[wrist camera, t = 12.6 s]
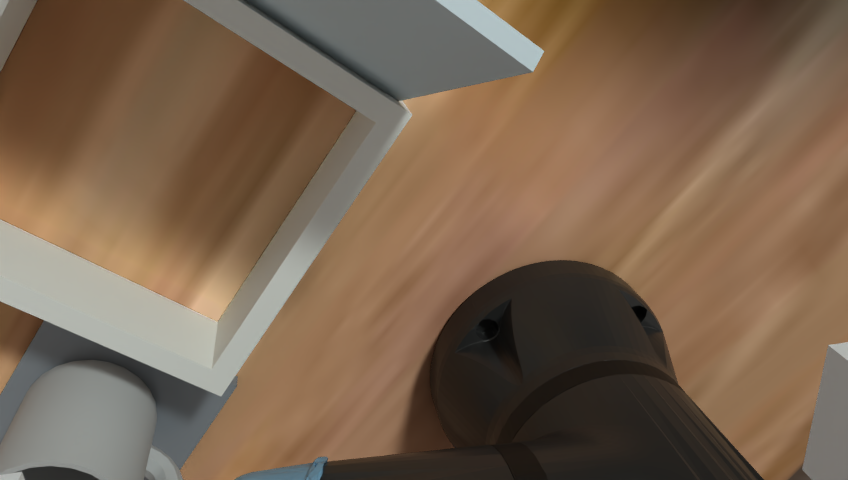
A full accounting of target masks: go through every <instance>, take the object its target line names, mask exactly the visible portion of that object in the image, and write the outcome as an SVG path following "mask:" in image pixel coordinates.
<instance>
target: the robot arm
mask: <svg viewBox="0 0 848 480" xmlns="http://www.w3.org/2000/svg"><path fill="white" fill-rule="evenodd" d="M430 387H431V394H432V398H433V402H434V405H435V408H436V411H437V414H438V417H439V420H440V423H441V425H442V427H443V430H444V432H445V433H446V435H447V437H448V438H449V440H450V441H451V443H452V444H453V446H454V447H455V448H451V449H442V450H432V451H423V452H414V453H404V454H395V455H386V456H376V457H367V458H358V459H348V460H339V461H330V462H327V460H328V458H327V457H318V458H317V459H315V461H314V462H313V463H308V464H301V465H295V466H289V467H282V468H276V469H270V470H263V471H257V472H251V473H248V474H244V475H242V476H240V477H238V478H236V479H234V480H764V479H763V478H762V477H761V476H760V475H759V474H758V473H757V471H756V470H755V469H754V468H753V467H752V466H751V465H750V464H749V463H748V461H747V460H746V459H745V458H744V457H743V456H742V455H741V454H740V453H739V452H738V450H737V449H736V448H735V447H734V446H733V445H732V444H731V443H730V442H729V440H728V439H727V438H726V437H725V436H724V435H723V434H722V433H721V432H720V430H719V429H718V428H717V427H716V426H715V425H714V424H713V423H712V422H711V420H710V419H709V418H708V417H707V416H706V415H705V414H704V413H703V412H702V410H701V409H700V408H699V407H698V406H697V405H696V404H695V403H694V402H693V400H692V399H691V398H690V397H689V396H688V395H687V394H686V393H685V392H684V391H683V389H682V388H681V387H680V386H679V385H678V382H677V378H676V375H675V372H674V368H673V365H672V361H671V358H670V354H669V351H668V347H667V344H666V341H665V337H664V334H663V331H662V328H661V326H660V324H659V322H658V320H657V318H656V316H655V315H654V313H653V312H652V310H651V309H650V307H649V306H648V305H647V304H646V303H645V301H644V300H643V299H642V298H641V297H640V296H639V295H638V294H637V293H636V292H635V291H634V290H633V289H632V288H631V287H630V286H629V285H628V284H627V283H626V282H625V281H623V280H622V279H621V278H619V277H618V276H616V275H615V274H613V273H611V272H610V271H608V270H605V269H603V268H601V267H598V266H595V265H592V264H588V263H583V262H578V261H564V260H558V261H546V262H539V263H534V264H530V265H526V266H523V267H520V268H517V269H514V270H512V271H509V272H507V273H505V274H503V275H501V276H499V277H497V278H495V279H493V280H492V281H490V282H489V283H487V284H486V285H484V286H483V287H481V288H480V289H479V290H477V291H476V292H475V293H474V294H472V295H471V296H470V297H469V298H468V299H467V300H466V301H465V302H464V303H463V304H462V305H461V306H460V307H459V308H458V309H457V311H456V312H455V313H454V314H453V316H452V317H451V318H450V320H449V321H448V323H447V324H446V326H445V328H444V329H443V331H442V333H441V335H440V337H439V339H438V342H437V344H436V347H435V350H434V353H433V357H432V362H431V369H430ZM802 470H803V471H804V472H805V473H806V474H807V475H808V476H809V477H810V478H811V479H812V480H848V342H846V343H840V344H833V345H828V349H827V354H826V359H825V364H824V368H823V373H822V378H821V383H820V388H819V392H818V397H817V402H816V407H815V411H814V416H813V421H812V426H811V431H810V435H809V440H808V445H807V450H806V454H805V459H804V464H803V469H802ZM0 480H25V479H24V476H23V473H22V472H17V473H10V474H4V475H0Z"/></svg>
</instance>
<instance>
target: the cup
mask: <svg viewBox="0 0 848 480" xmlns="http://www.w3.org/2000/svg"><path fill="white" fill-rule="evenodd" d="M156 421H157V410H156V402H155V400H154V398H153V395H152V393H151V391H150V389H149V388H148V387H147V386H146V385H145V383H144V382H143V381H142V380H141V379H140V378H139V377H138V376H136V375H135V374H133V373H132V372H130V371H129V370H127V369H126V368H124V367H121V366H118V365H116V364H113V363H110V362H105V361H98V360H82V361H72V362H69V363H65V364H62V365H58V366H56V367H54V368H52V369H51V370H49V371H47V372H45V373H44V374H42V375H41V376H40V377H39V378H38V379H37V380H36V381H35V382H34V383H33V384H32V385H31V387H30V388H29V390H28V391H27V393H26V395H25V397H24V399H23V401H22V403H21V405H20V407H19V409H18V411H17V413H16V414H15V416H14V418H13V420H12V422H11V424H10V426H9V428H8V430H7V432H6V434H5V436H4V438H3V440H2V442H1V444H0V475H4V474H10V473H17V472H22V473H23V476H24V479H25V480H144V476H145V477H146V478H148V479H149V480H183V478H182V475H181V473H180V470H179V468H178V467H177V465H176V464H175V463H174V461H173V460H172V459H171V458H170V457H169V456H168V455H167V454H165V453H164V452H163V451H161V450H160V449H158V448H156V447H154V446H153V445H152V440H153V436H154V431H155V427H156Z"/></svg>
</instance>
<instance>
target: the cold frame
mask: <svg viewBox="0 0 848 480" xmlns="http://www.w3.org/2000/svg"><path fill="white" fill-rule="evenodd" d="M184 1H185V2H187V3H188V4H190V5H192V6H193V7H195V8H196V9H198V10H199V11H201V12H203V13H204V14H206V15H207V16H209V17H210V18H212V19H214V20H215V21H217V22H218V23H220V24H221V25H223V26H225V27H226V28H228V29H229V30H231V31H232V32H234V33H236V34H237V35H239V36H240V37H242V38H243V39H245V40H247V41H248V42H250V43H251V44H253V45H254V46H256V47H258V48H259V49H261V50H262V51H264V52H265V53H267V54H269V55H270V56H272V57H273V58H275V59H276V60H278V61H280V62H281V63H283V64H284V65H286V66H287V67H289V68H291V69H292V70H294V71H295V72H297V73H298V74H300V75H302V76H303V77H305V78H306V79H308V80H309V81H311V82H313V83H314V84H316V85H317V86H319V87H320V88H322V89H324V90H325V91H327V92H328V93H330V94H332V95H333V96H335V97H336V98H338V99H339V100H341V101H343V102H344V103H346V104H347V105H349V106H350V107H352V108H354V109H355V110H357V111H356V112H355V114H354V115H353V117H352V118H351V120H350V121H349V123H348V124H347V126H346V128H345V129H344V131H343V132H342V134H341V135H340V137H339V138H338V140H337V141H336V143H335V144H334V146H333V147H332V149H331V150H330V152H329V153H328V155H327V156H326V158H325V159H324V161H323V163H322V164H321V166H320V167H319V169H318V170H317V172H316V173H315V175H314V176H313V178H312V179H311V181H310V182H309V184H308V185H307V187H306V188H305V190H304V191H303V193H302V195H301V196H300V198H299V199H298V201H297V202H296V204H295V205H294V207H293V208H292V210H291V211H290V213H289V214H288V216H287V217H286V219H285V220H284V222H283V223H282V225H281V226H280V228H279V230H278V231H277V233H276V234H275V236H274V237H273V239H272V240H271V242H270V243H269V245H268V246H267V248H266V249H265V251H264V252H263V254H262V255H261V257H260V258H259V260H258V262H257V263H256V265H255V266H254V268H253V269H252V271H251V272H250V274H249V275H248V277H247V278H246V280H245V281H244V283H243V284H242V286H241V287H240V289H239V290H238V292H237V293H236V295H235V297H234V298H233V300H232V301H231V303H230V304H229V306H228V307H227V309H226V310H225V312H224V313H223V315H222V316H221V318H220V319H219V321H218V322H217V321H215V320H213V319H210V318H208V317H206V316H204V315H202V314H200V313H198V312H196V311H193V310H191V309H189V308H187V307H185V306H183V305H181V304H179V303H177V302H174V301H172V300H170V299H168V298H166V297H164V296H162V295H160V294H157V293H155V292H153V291H151V290H149V289H147V288H145V287H143V286H140V285H138V284H136V283H134V282H132V281H130V280H128V279H126V278H124V277H121V276H119V275H117V274H115V273H113V272H111V271H109V270H107V269H104V268H102V267H100V266H98V265H96V264H94V263H92V262H90V261H87V260H85V259H83V258H81V257H79V256H77V255H75V254H73V253H71V252H68V251H66V250H64V249H62V248H60V247H58V246H56V245H54V244H51V243H49V242H47V241H45V240H43V239H41V238H39V237H37V236H34V235H32V234H30V233H28V232H26V231H24V230H22V229H20V228H18V227H15V226H13V225H11V224H9V223H7V222H5V221H3V220H1V219H0V301H1V302H3V303H5V304H8V305H10V306H12V307H15V308H17V309H19V310H22V311H24V312H26V313H29V314H31V315H33V316H35V317H38V318H40V319H42V320H45V321H47V322H49V323H52V324H54V325H56V326H59V327H61V328H63V329H66V330H68V331H70V332H73V333H75V334H77V335H79V336H82V337H84V338H86V339H89V340H91V341H93V342H96V343H98V344H100V345H103V346H105V347H107V348H110V349H112V350H114V351H117V352H119V353H121V354H124V355H126V356H128V357H130V358H133V359H135V360H137V361H140V362H142V363H144V364H147V365H149V366H151V367H154V368H156V369H158V370H161V371H163V372H165V373H168V374H170V375H172V376H174V377H177V378H179V379H181V380H184V381H186V382H188V383H191V384H193V385H195V386H198V387H200V388H202V389H205V390H207V391H209V392H212V393H214V394H216V395H218V396H222V395H223V393H224V392H225V390H226V389H227V387H228V386H229V384H230V383H231V381H232V380H233V378H234V377H235V376H236V374H237V373H238V371H239V370H240V368H241V367H242V365H243V364H244V362H245V361H246V359H247V358H248V356H249V355H250V353H251V352H252V350H253V349H254V348H255V346H256V345H257V343H258V342H259V340H260V339H261V337H262V336H263V334H264V333H265V331H266V330H267V328H268V327H269V325H270V324H271V322H272V321H273V320H274V318H275V317H276V315H277V314H278V312H279V311H280V309H281V308H282V306H283V305H284V303H285V302H286V300H287V299H288V297H289V296H290V294H291V293H292V292H293V290H294V289H295V287H296V286H297V284H298V283H299V281H300V280H301V278H302V277H303V275H304V274H305V272H306V271H307V269H308V268H309V266H310V265H311V264H312V262H313V261H314V259H315V258H316V256H317V255H318V253H319V252H320V250H321V249H322V247H323V246H324V244H325V243H326V241H327V240H328V238H329V237H330V236H331V234H332V233H333V231H334V230H335V228H336V227H337V225H338V224H339V222H340V221H341V219H342V218H343V216H344V215H345V213H346V212H347V210H348V209H349V208H350V206H351V205H352V203H353V202H354V200H355V199H356V197H357V196H358V194H359V193H360V191H361V190H362V188H363V187H364V185H365V184H366V182H367V181H368V180H369V178H370V177H371V175H372V174H373V172H374V171H375V169H376V168H377V166H378V165H379V163H380V162H381V160H382V159H383V157H384V156H385V154H386V153H387V152H388V150H389V149H390V147H391V146H392V144H393V143H394V141H395V140H396V138H397V137H398V135H399V134H400V132H401V131H402V129H403V128H404V126H405V125H406V124H407V122H408V121H409V119H410V118H411V116H412V114H411V112H410V111H409V109H408V108H407V106H406V105H405V104H404V102H403V101H402V100H406V99H410V98H415V97H420V96H424V95H429V94H433V93H438V92H443V91H447V90H452V89H457V88H461V87H466V86H471V85H475V84H480V83H484V82H489V81H494V80H498V79H503V78H508V77H512V76H517V75H521V74H526V73H531V72H533V71H534V69H535V67H536V66H537V64H538V62H539V60H540V58H541V56H542V54H543V52H544V51H543V50H542V49H541V48H539V47H538V46H537V45H535V44H534V43H533V42H531V41H530V40H529V39H527V38H526V37H525V36H523V35H522V34H521V33H519V32H518V31H517V30H515V29H514V28H513V27H511V26H510V25H509V24H507V23H506V22H505V21H504V20H502V19H501V18H500V17H498V16H497V15H496V14H494V13H493V12H492V11H490V10H489V9H488V8H486V7H485V6H484V5H482V4H481V3H480V2H478V1H477V0H184ZM36 2H37V0H0V72H1V70H2V68H3V66H4V64H5V62H6V60H7V58H8V56H9V54H10V52H11V50H12V49H13V47H14V45H15V43H16V41H17V39H18V37H19V35H20V33H21V31H22V29H23V27H24V25H25V23H26V21H27V20H28V18H29V16H30V14H31V12H32V10H33V8H34V6H35V4H36Z"/></svg>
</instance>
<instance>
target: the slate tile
mask: <svg viewBox="0 0 848 480" xmlns="http://www.w3.org/2000/svg"><path fill="white" fill-rule="evenodd" d="M82 360H98V361H105V362H110V363H113V364H116V365H118V366H121V367H124V368H126V369H127V370H129V371H130V372H132V373H133V374H135V375H136V376H138V377H139V378H140V379H141V380H142V381H143V382H144V383H145V385H146V386H147V387H148V388H149V389H150V391H151V393H152V395H153V398H154V400H155V402H156V410H157V421H156V427H155V431H154V436H153V440H152V445H153V446H154V447H156V448H158V449H160V450H161V451H163V452H164V453H165V454H167V455H168V456H169V457H170V458H171V459H172V460H173V461H174V463H175V464H176V465H177V467H178V468H179V470H180V469H181V467H182V466H183V464H184V463H185V461H186V460H187V458H188V457H189V456H190V454H191V453H192V451H193V450H194V448H195V447H196V445H197V444H198V442H199V441H200V439H201V438H202V437H203V435H204V434H205V432H206V431H207V429H208V428H209V426H210V425H211V423H212V422H213V420H214V419H215V417H216V416H217V415H218V413H219V412H220V410H221V409H222V407H223V406H224V404H225V403H226V401H227V400H228V398H229V397H230V395H231V394H232V393H233V391H234V390H235V388H236V387H237V378H238V377H237V376H235V377H234V378H233V380H232V381H231V383H230V384H229V386H228V387H227V389H226V390H225V392H224V393H223V395H222V396H218V395H216V394H214V393H212V392H209V391H207V390H205V389H202V388H200V387H198V386H195V385H193V384H191V383H188V382H186V381H184V380H181V379H179V378H177V377H174V376H172V375H170V374H168V373H165V372H163V371H161V370H158V369H156V368H154V367H151V366H149V365H147V364H144V363H142V362H140V361H137V360H135V359H133V358H130V357H128V356H126V355H124V354H121V353H119V352H117V351H114V350H112V349H110V348H107V347H105V346H103V345H100V344H98V343H96V342H93V341H91V340H89V339H86V338H84V337H82V336H79V335H77V334H75V333H73V332H70V331H68V330H66V329H63V328H61V327H59V326H56V325H54V324H52V323H49V322H47V321H45V320H44V321H43V323H42V324H41V326H40V328H39V330H38V331H37V333H36V335H35V336H34V338H33V340H32V342H31V343H30V345H29V347H28V348H27V350H26V352H25V353H24V355H23V357H22V359H21V360H20V362H19V364H18V365H17V367H16V369H15V371H14V372H13V374H12V376H11V377H10V379H9V381H8V382H7V384H6V386H5V388H4V389H3V391H2V393H1V394H0V444H1V442H2V440H3V438H4V436H5V434H6V432H7V430H8V428H9V426H10V424H11V422H12V420H13V418H14V416H15V414H16V413H17V411H18V409H19V407H20V405H21V403H22V401H23V399H24V397H25V395H26V393H27V391H28V390H29V388H30V387H31V385H32V384H33V383H34V382H35V381H36V380H37V379H38V378H39V377H40V376H41V375H42V374H44V373H45V372H47V371H49V370H51V369H52V368H54V367H56V366H58V365H62V364H65V363H69V362H72V361H82ZM144 480H149V479H148V478H146V477H145V476H144Z"/></svg>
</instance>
